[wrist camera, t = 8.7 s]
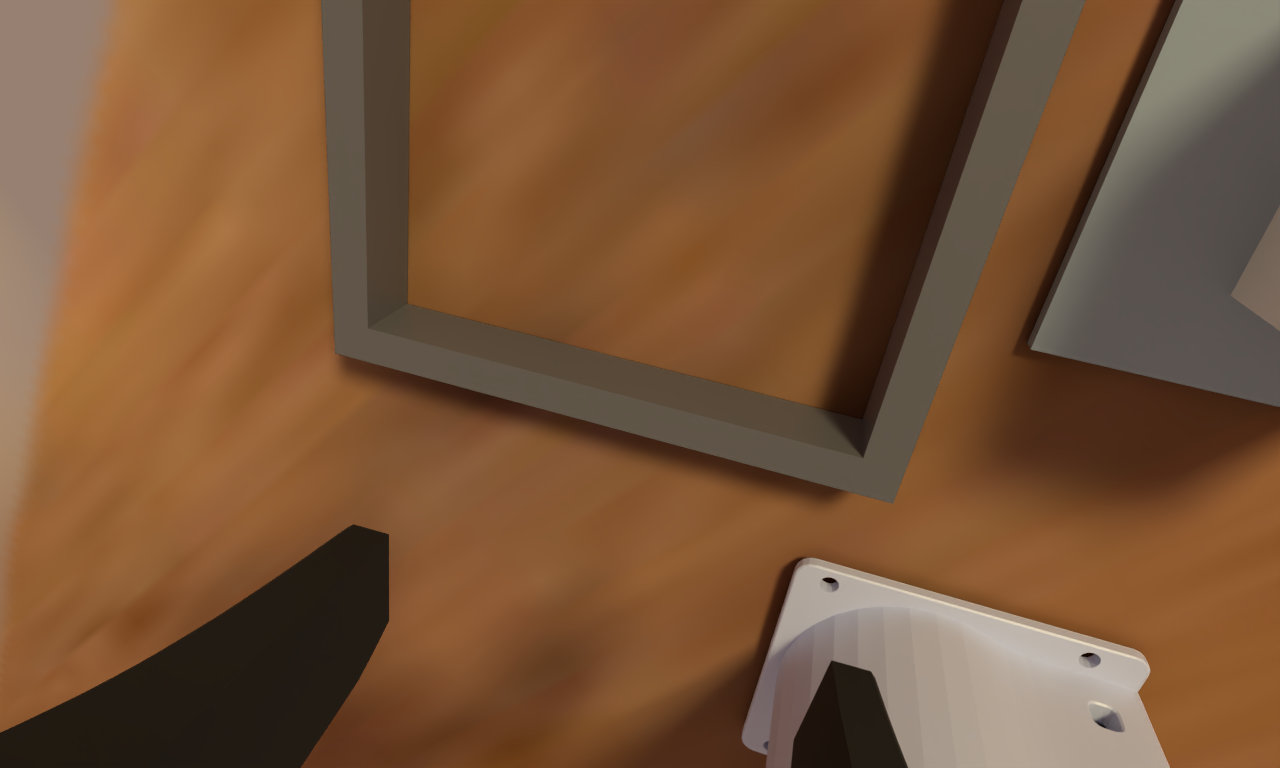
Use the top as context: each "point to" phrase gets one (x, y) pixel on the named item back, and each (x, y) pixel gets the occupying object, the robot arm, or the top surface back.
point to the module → (1263, 277)
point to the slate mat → (1182, 213)
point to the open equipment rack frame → (642, 394)
